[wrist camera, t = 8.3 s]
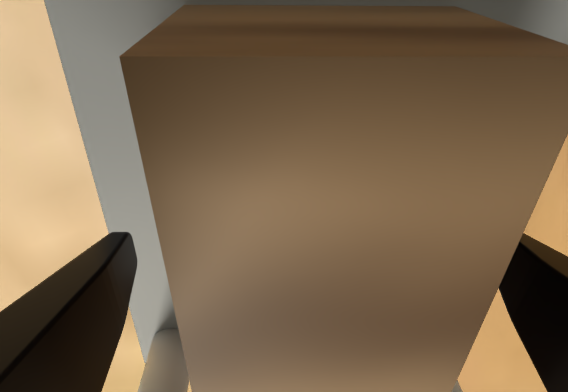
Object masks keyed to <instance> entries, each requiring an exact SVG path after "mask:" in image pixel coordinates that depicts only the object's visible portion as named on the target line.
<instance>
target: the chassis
mask: <svg viewBox="0 0 568 392" xmlns="http://www.w3.org/2000/svg"><path fill="white" fill-rule="evenodd" d="M44 2H45V5H46V9H47V13H48V16H49V20H50V23H51V27H52V31H53V34H54V38H55V41H56V45H57V49H58V52H59V56H60V59H61V63H62V67H63V70H64V74H65V77H66V81H67V85H68V88H69V92H70V95H71V99H72V103H73V106H74V110H75V113H76V117H77V121H78V124H79V128H80V131H81V135H82V139H83V142H84V146H85V149H86V153H87V157H88V160H89V164H90V167H91V171H92V175H93V178H94V182H95V185H96V189H97V193H98V196H99V200H100V203H101V207H102V211H103V214H104V218H105V221H106V225H107V229H108V232H109V233H111V232H129V233H130V234H131V235H132V238H133V242H134V247H135V251H136V255H137V270H136V275H135V279H134V284H133V288H132V293H131V297H130V302H129V308H130V311H131V315H132V319H133V322H134V326H135V329H136V333H137V337H138V340H139V344H140V347H141V351H142V355H143V358H144V362H145V363H146V364H145V368H144V371H143V375H142V379H141V382H140V386H139V389H138V392H187V390H188V384H189V375H188V371H187V366H186V362H185V357H184V352H183V348H182V343H181V339H180V334H179V329H178V325H177V320H176V316H175V311H174V306H173V302H172V297H171V292H170V288H169V283H168V279H167V274H166V269H165V265H164V260H163V256H162V251H161V246H160V242H159V237H158V233H157V228H156V223H155V219H154V214H153V210H152V205H151V200H150V196H149V191H148V187H147V182H146V177H145V173H144V168H143V164H142V159H141V154H140V150H139V145H138V141H137V136H136V131H135V127H134V122H133V118H132V113H131V108H130V104H129V99H128V95H127V90H126V85H125V81H124V76H123V71H122V67H121V62H120V58H119V56H120V55H122V54H123V53H124V52H125V51H127V50H128V49H129V48H130V47H132V46H133V45H134V44H136V43H137V42H138V41H139V40H141V39H142V38H143V37H144V36H146V35H147V34H148V33H149V32H151V31H152V30H153V29H154V28H156V27H157V26H158V25H159V24H161V23H162V22H163V21H164V20H166V19H167V18H168V17H169V16H171V15H172V14H173V13H174V12H176V11H177V10H178V9H179V8H181V7H182V6H183V5H316V6H456V7H459V8H462V9H465V10H468V11H470V12H473V13H476V14H479V15H482V16H485V17H488V18H491V19H494V20H497V21H500V22H503V23H506V24H508V25H511V26H514V27H517V28H520V29H523V30H526V31H529V32H532V33H535V34H538V35H541V36H544V37H547V38H549V39H552V40H555V41H558V42H561V43H564V44H567V45H568V0H44ZM452 392H462V390H461V387H460V385H459V383H458V380H457V381H456V383H455V385H454V387H453V390H452Z"/></svg>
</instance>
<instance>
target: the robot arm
mask: <svg viewBox="0 0 568 392" xmlns="http://www.w3.org/2000/svg"><path fill="white" fill-rule="evenodd" d="M136 270H137V255H136V251H135V247H134V242H133V238H132V235H131V234H130V233H129V232H111V233H109V234H108V235H107V236H105V237H104V238H102V239H101V240H100V241H98V242H97V243H95V244H94V245H93V246H91V247H90V248H88V249H87V250H86V251H84V252H83V253H82V254H80V255H79V256H77V257H76V258H75V259H73V260H72V261H70V262H69V263H68V264H66V265H65V266H63V267H62V268H61V269H59V270H58V271H56V272H55V273H54V274H52V275H51V276H49V277H48V278H47V279H45V280H44V281H43V282H41V283H40V284H38V285H37V286H36V287H34V288H33V289H31V290H30V291H29V292H27V293H26V294H24V295H23V296H22V297H20V298H19V299H17V300H16V301H15V302H13V303H12V304H10V305H9V306H8V307H6V308H5V309H4V310H2V311H1V312H0V392H101V391H102V388H103V385H104V383H105V380H106V377H107V374H108V371H109V368H110V365H111V362H112V360H113V357H114V354H115V351H116V348H117V345H118V342H119V339H120V337H121V334H122V330H123V327H124V324H125V320H126V316H127V311H128V307H129V302H130V297H131V293H132V288H133V284H134V279H135V275H136ZM499 290H500V293H501V295H502V298H503V300H504V303H505V306H506V308H507V311H508V313H509V316H510V318H511V320H512V322H513V325H514V327H515V329H516V331H517V333H518V335H519V337H520V339H521V341H522V343H523V345H524V346H525V348H526V350H527V352H528V354H529V356H530V358H531V360H532V362H533V364H534V366H535V368H536V370H537V372H538V374H539V376H540V378H541V380H542V382H543V384H544V386H545V388H546V390H547V392H568V257H567V256H565V255H564V254H562V253H560V252H558V251H556V250H554V249H552V248H550V247H549V246H547V245H545V244H543V243H541V242H539V241H537V240H535V239H533V238H532V237H530V236H528V235H526V234H524V233H523V234H522V236H521V239H520V241H519V243H518V245H517V248H516V250H515V252H514V254H513V256H512V259H511V261H510V263H509V265H508V268H507V270H506V272H505V274H504V276H503V279H502V281H501V283H500V285H499Z"/></svg>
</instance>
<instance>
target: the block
mask: <svg viewBox="0 0 568 392" xmlns="http://www.w3.org/2000/svg"><path fill="white" fill-rule="evenodd" d="M119 58H120V62H121V67H122V71H123V76H124V81H125V85H126V90H127V95H128V99H129V104H130V108H131V113H132V118H133V122H134V127H135V131H136V136H137V141H138V145H139V150H140V154H141V159H142V164H143V168H144V173H145V177H146V182H147V187H148V191H149V196H150V200H151V205H152V210H153V214H154V219H155V223H156V228H157V233H158V237H159V242H160V246H161V251H162V256H163V260H164V265H165V269H166V274H167V279H168V283H169V288H170V292H171V297H172V302H173V306H174V311H175V316H176V320H177V325H178V329H179V334H180V339H181V343H182V348H183V352H184V357H185V362H186V366H187V371H188V375H189V380H190V385H191V389H192V392H452V390H453V387H454V385H455V383H456V381H457V379H458V376H459V374H460V372H461V370H462V368H463V365H464V363H465V361H466V359H467V356H468V354H469V352H470V350H471V348H472V345H473V343H474V341H475V339H476V336H477V334H478V332H479V330H480V328H481V325H482V323H483V321H484V319H485V316H486V314H487V312H488V310H489V308H490V305H491V303H492V301H493V299H494V296H495V294H496V292H497V290H498V288H499V285H500V283H501V281H502V279H503V276H504V274H505V272H506V270H507V268H508V265H509V263H510V261H511V259H512V256H513V254H514V252H515V250H516V248H517V245H518V243H519V241H520V239H521V236H522V234H523V232H524V230H525V228H526V225H527V223H528V221H529V219H530V217H531V214H532V212H533V210H534V208H535V205H536V203H537V201H538V199H539V197H540V194H541V192H542V190H543V188H544V185H545V183H546V181H547V179H548V177H549V174H550V172H551V170H552V168H553V165H554V163H555V161H556V159H557V157H558V154H559V152H560V150H561V148H562V145H563V143H564V141H565V139H566V137H567V134H568V45H567V44H564V43H561V42H558V41H555V40H552V39H549V38H547V37H544V36H541V35H538V34H535V33H532V32H529V31H526V30H523V29H520V28H517V27H514V26H511V25H508V24H506V23H503V22H500V21H497V20H494V19H491V18H488V17H485V16H482V15H479V14H476V13H473V12H470V11H468V10H465V9H462V8H459V7H456V6H316V5H183V6H182V7H181V8H179V9H178V10H177V11H176V12H174V13H173V14H172V15H171V16H169V17H168V18H167V19H166V20H164V21H163V22H162V23H161V24H159V25H158V26H157V27H156V28H154V29H153V30H152V31H151V32H149V33H148V34H147V35H146V36H144V37H143V38H142V39H141V40H139V41H138V42H137V43H136V44H134V45H133V46H132V47H130V48H129V49H128V50H127V51H125V52H124V53H123V54H122V55H120V56H119Z"/></svg>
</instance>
